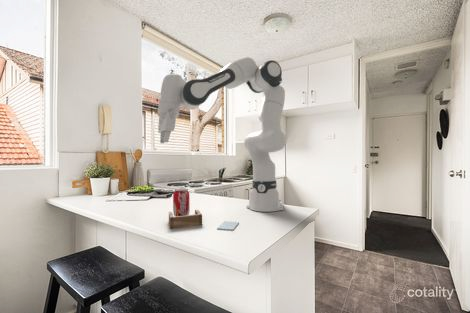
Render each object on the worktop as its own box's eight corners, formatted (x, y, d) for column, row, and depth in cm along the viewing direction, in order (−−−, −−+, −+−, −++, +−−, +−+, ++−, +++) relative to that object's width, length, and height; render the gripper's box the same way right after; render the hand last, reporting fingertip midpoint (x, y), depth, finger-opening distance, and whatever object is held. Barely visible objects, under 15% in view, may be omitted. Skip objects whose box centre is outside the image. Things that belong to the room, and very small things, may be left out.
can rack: (168, 221, 92) (168, 212, 92) (197, 218, 96) (197, 209, 96) (170, 228, 83) (170, 217, 83) (202, 224, 87) (202, 214, 87)
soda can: (174, 219, 96) (174, 190, 96) (172, 215, 102) (172, 188, 102) (191, 217, 98) (190, 189, 98) (188, 213, 105) (187, 187, 105)
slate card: (224, 223, 90) (224, 221, 90) (238, 224, 89) (238, 222, 89) (217, 231, 82) (217, 228, 82) (233, 232, 80) (233, 229, 80)
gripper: (181, 108, 89) (176, 143, 89) (171, 116, 108) (167, 144, 107) (165, 104, 87) (159, 140, 86) (157, 113, 105) (153, 142, 104)
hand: (163, 142), depth 97 cm, fingers open, 8 cm apart
